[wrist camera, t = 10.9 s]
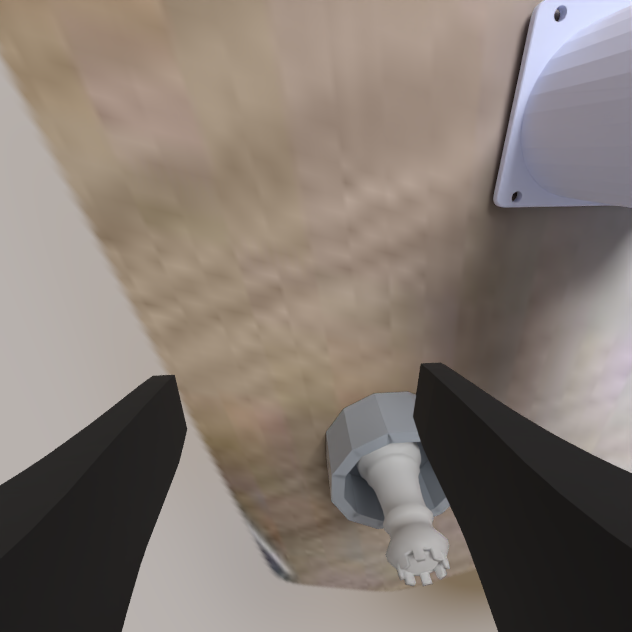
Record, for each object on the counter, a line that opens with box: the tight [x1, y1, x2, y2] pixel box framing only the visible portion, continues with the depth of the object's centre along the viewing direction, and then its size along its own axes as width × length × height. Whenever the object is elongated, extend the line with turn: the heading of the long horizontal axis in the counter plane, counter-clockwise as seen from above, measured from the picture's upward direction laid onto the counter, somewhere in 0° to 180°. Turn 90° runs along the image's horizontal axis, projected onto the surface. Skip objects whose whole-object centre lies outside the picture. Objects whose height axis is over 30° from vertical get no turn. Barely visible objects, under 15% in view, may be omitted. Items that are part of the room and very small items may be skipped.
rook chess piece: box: [356, 442, 450, 586], centre depth 20 cm, size 4×4×8 cm
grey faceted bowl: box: [326, 392, 450, 529], centre depth 22 cm, size 9×9×4 cm
